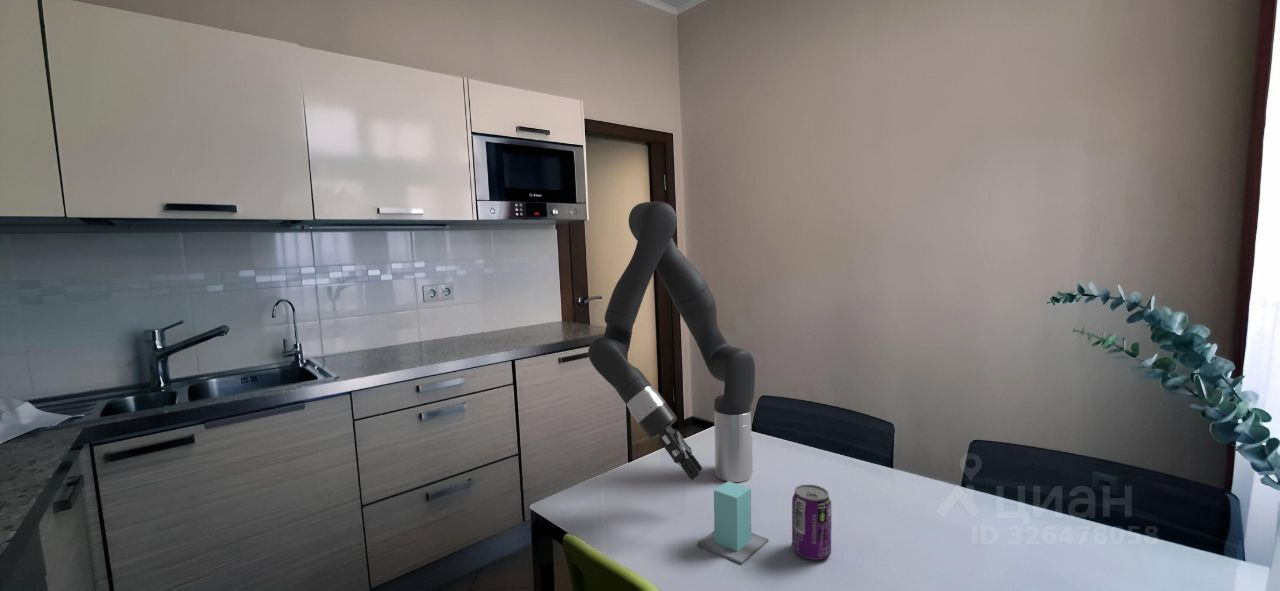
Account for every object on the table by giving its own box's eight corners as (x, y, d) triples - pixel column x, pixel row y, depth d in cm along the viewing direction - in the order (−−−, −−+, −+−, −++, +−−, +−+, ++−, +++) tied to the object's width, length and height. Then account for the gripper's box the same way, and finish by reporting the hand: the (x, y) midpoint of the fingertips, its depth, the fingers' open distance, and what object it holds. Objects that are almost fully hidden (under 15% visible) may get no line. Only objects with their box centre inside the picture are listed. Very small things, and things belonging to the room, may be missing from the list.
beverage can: (834, 564, 96) (834, 501, 95) (793, 561, 97) (793, 498, 96) (828, 543, 103) (828, 484, 102) (790, 540, 104) (790, 482, 103)
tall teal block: (728, 531, 107) (728, 481, 106) (751, 540, 104) (750, 488, 103) (714, 542, 103) (713, 490, 103) (737, 551, 100) (736, 498, 99)
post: (725, 524, 111) (725, 481, 110) (768, 541, 104) (768, 495, 103) (697, 545, 103) (696, 498, 103) (741, 564, 97) (741, 515, 96)
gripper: (660, 401, 108) (709, 467, 104) (668, 401, 122) (712, 459, 118) (631, 423, 108) (680, 490, 104) (643, 421, 122) (686, 480, 118)
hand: (697, 474), depth 111 cm, fingers open, 8 cm apart
